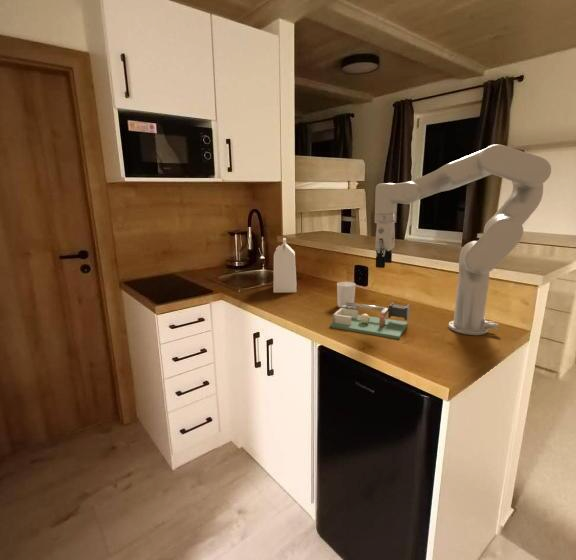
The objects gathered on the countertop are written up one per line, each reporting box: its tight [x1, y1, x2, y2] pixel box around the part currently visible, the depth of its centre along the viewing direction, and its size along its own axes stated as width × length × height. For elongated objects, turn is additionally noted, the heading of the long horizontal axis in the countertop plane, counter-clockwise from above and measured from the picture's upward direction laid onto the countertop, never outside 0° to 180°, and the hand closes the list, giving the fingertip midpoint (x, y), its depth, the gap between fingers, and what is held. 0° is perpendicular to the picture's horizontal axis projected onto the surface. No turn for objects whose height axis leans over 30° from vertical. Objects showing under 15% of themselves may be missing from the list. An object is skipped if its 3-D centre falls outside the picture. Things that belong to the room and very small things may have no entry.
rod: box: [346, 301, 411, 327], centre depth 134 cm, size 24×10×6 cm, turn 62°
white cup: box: [336, 281, 357, 309], centre depth 155 cm, size 8×8×10 cm
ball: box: [360, 313, 370, 323], centre depth 133 cm, size 4×4×4 cm
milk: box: [272, 237, 298, 294], centre depth 181 cm, size 12×12×26 cm
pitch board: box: [329, 305, 409, 340], centre depth 133 cm, size 25×15×4 cm, turn 62°
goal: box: [332, 307, 359, 325], centre depth 136 cm, size 7×9×3 cm
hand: (383, 265), depth 134 cm, fingers open, 9 cm apart
